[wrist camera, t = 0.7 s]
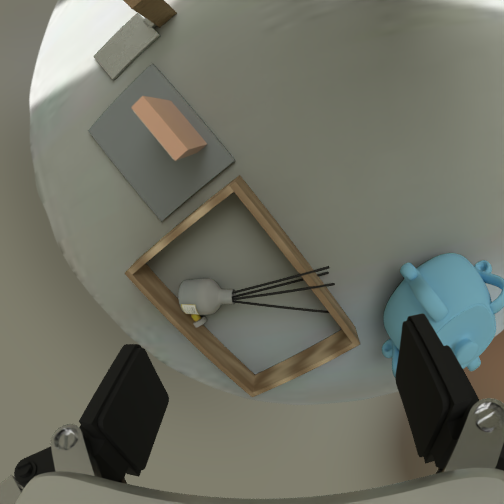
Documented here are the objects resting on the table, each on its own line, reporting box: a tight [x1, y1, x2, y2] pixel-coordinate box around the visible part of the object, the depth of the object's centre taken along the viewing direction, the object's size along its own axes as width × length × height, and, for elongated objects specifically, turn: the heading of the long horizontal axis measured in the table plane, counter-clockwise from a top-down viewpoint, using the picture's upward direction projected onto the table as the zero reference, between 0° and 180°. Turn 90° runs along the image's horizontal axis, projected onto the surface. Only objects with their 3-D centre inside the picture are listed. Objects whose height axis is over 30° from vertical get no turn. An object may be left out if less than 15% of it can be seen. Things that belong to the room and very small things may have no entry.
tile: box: [131, 96, 207, 161], centre depth 29 cm, size 2×7×8 cm, turn 39°
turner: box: [94, 0, 177, 80], centre depth 25 cm, size 11×5×8 cm, turn 128°
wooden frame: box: [125, 175, 360, 397], centre depth 40 cm, size 19×27×4 cm
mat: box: [88, 64, 235, 222], centre depth 34 cm, size 12×16×1 cm
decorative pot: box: [382, 253, 504, 378], centre depth 33 cm, size 16×16×14 cm
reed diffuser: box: [179, 266, 335, 328], centre depth 39 cm, size 10×7×20 cm
